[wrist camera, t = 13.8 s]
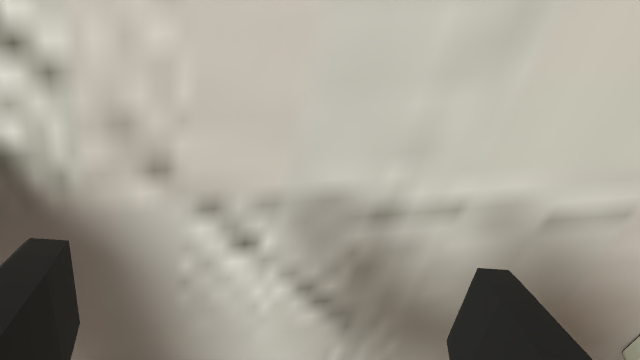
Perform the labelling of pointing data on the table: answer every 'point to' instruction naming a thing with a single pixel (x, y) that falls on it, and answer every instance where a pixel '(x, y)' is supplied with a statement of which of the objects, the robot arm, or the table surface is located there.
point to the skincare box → (633, 350)
